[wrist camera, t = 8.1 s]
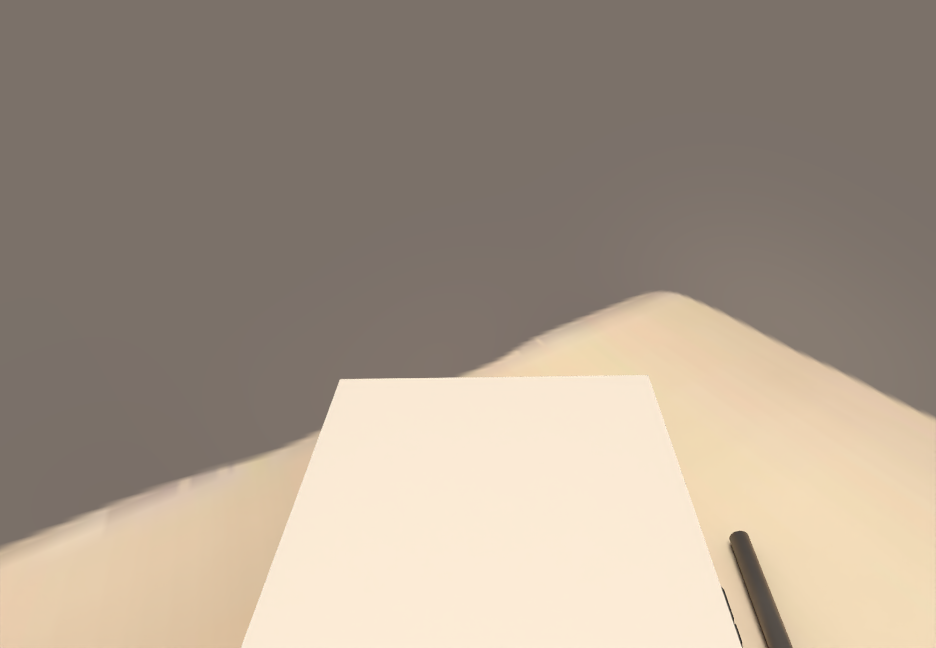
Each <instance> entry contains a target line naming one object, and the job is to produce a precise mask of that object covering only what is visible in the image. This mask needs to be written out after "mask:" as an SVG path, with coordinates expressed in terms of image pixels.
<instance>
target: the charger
mask: <svg viewBox="0 0 936 648" xmlns="http://www.w3.org/2000/svg"><path fill="white" fill-rule="evenodd" d="M241 648H742V646H741V643H740V640H739V638H738V635H737V632H736V629H735V626H734V623H733V620H732V617H731V614H730V611H729V608H728V606H727V603H726V600H725V597H724V594H723V591H722V588H721V585H720V582H719V579H718V577H717V574H716V571H715V568H714V565H713V562H712V559H711V556H710V553H709V550H708V547H707V545H706V542H705V539H704V536H703V533H702V530H701V527H700V524H699V521H698V518H697V516H696V513H695V510H694V507H693V504H692V501H691V498H690V495H689V492H688V489H687V486H686V484H685V481H684V478H683V475H682V472H681V469H680V466H679V463H678V460H677V457H676V455H675V452H674V449H673V446H672V443H671V440H670V437H669V434H668V431H667V428H666V425H665V423H664V420H663V417H662V414H661V411H660V408H659V405H658V402H657V399H656V396H655V394H654V391H653V388H652V385H651V382H650V379H649V376H648V375H619V376H546V377H473V378H400V379H341V380H340V381H339V384H338V387H337V390H336V392H335V395H334V398H333V400H332V403H331V406H330V408H329V411H328V414H327V416H326V419H325V422H324V425H323V427H322V430H321V433H320V435H319V438H318V441H317V443H316V446H315V449H314V452H313V454H312V457H311V460H310V462H309V465H308V468H307V471H306V473H305V476H304V479H303V481H302V484H301V487H300V489H299V492H298V495H297V498H296V500H295V503H294V506H293V508H292V511H291V514H290V517H289V519H288V522H287V525H286V527H285V530H284V533H283V535H282V538H281V541H280V544H279V546H278V549H277V552H276V554H275V557H274V560H273V563H272V565H271V568H270V571H269V573H268V576H267V579H266V581H265V584H264V587H263V590H262V592H261V595H260V598H259V600H258V603H257V606H256V608H255V611H254V614H253V617H252V619H251V622H250V625H249V627H248V630H247V633H246V636H245V638H244V641H243V644H242V646H241Z"/></svg>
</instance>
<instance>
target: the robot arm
mask: <svg viewBox="0 0 936 648" xmlns="http://www.w3.org/2000/svg"><path fill="white" fill-rule="evenodd" d="M721 588H722V587H721ZM722 591H723V594H724V597H725V600H726V603H727V606H728V608H729V611H730V614H731V617H732V620H733V623H734V617H733V614H732V612H731V609H730V606H729V603H728V600H727V597H726V594H725V591H724V589H723V588H722ZM734 626H735V629H736V632H737V635H738V638H739V640H740V643H741V646H742V640H741V637H740V635H739V632H738V629H737V626H736V624H734ZM742 648H743V647H742Z"/></svg>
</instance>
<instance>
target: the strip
mask: <svg viewBox="0 0 936 648" xmlns="http://www.w3.org/2000/svg"><path fill="white" fill-rule="evenodd" d="M730 542H731V545H732V548H733V550H734V553H735V556H736V559H737V561H738V564H739V567H740V570H741V572H742V575H743V578H744V581H745V583H746V586H747V589H748V592H749V594H750V597H751V600H752V603H753V605H754V608H755V611H756V614H757V616H758V619H759V622H760V625H761V628H762V630H763V633H764V636H765V639H766V641H767V644H768V647H769V648H793V647H792V645H791V642H790V640H789V637H788V635H787V632H786V629H785V627H784V624H783V622H782V619H781V617H780V614H779V612H778V609H777V607H776V604H775V602H774V599H773V597H772V594H771V592H770V589H769V587H768V584H767V581H766V579H765V576H764V574H763V571H762V569H761V566H760V564H759V561H758V559H757V556H756V554H755V551H754V549H753V546H752V544H751V541H750V539H749V536H748V534H747V533H746V532H744V531H737V532H734V533H732V534H731V536H730Z"/></svg>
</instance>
